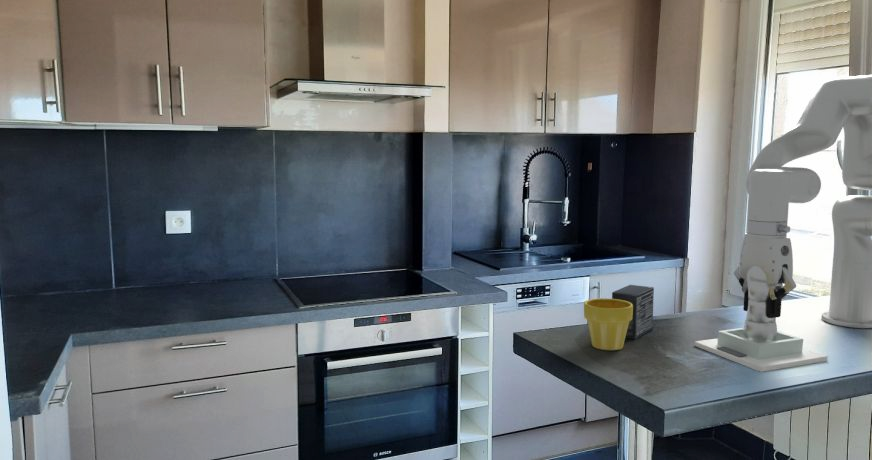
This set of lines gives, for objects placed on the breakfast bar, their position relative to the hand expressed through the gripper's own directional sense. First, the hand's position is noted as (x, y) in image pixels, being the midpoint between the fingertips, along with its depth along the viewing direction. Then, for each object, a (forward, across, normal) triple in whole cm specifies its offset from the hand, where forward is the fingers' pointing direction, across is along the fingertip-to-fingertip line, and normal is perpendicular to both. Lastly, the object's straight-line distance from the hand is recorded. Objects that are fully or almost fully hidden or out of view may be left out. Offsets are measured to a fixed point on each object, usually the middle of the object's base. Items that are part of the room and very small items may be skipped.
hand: (761, 312), depth 139 cm
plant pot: (+9, +16, +27) cm, 33 cm away
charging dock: (+9, 0, 0) cm, 9 cm away
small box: (+9, +23, +15) cm, 29 cm away
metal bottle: (+7, 0, 0) cm, 7 cm away
